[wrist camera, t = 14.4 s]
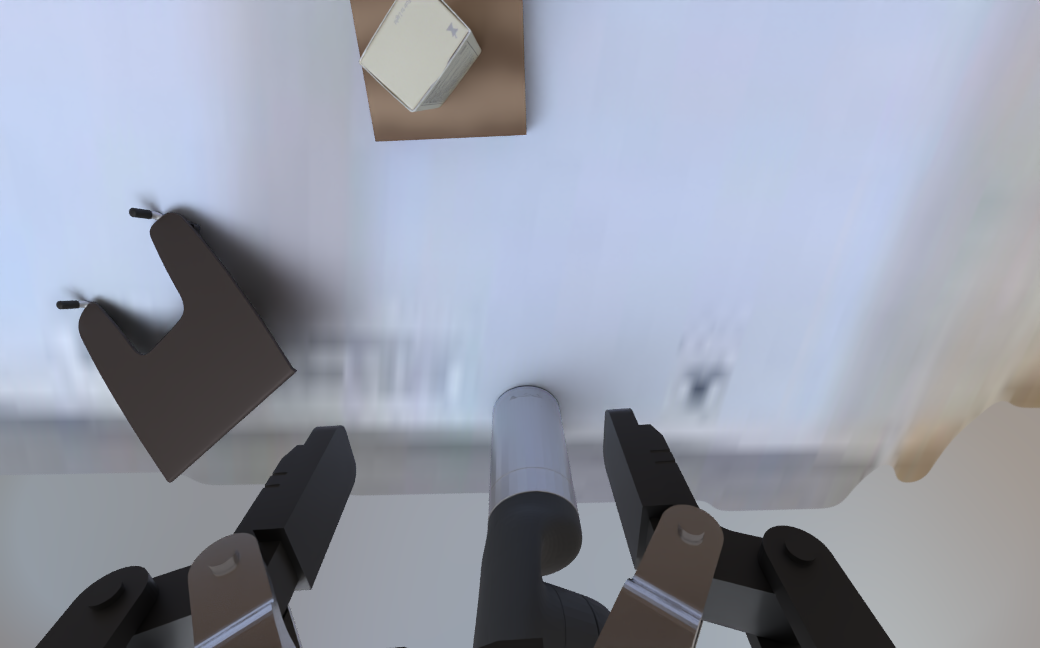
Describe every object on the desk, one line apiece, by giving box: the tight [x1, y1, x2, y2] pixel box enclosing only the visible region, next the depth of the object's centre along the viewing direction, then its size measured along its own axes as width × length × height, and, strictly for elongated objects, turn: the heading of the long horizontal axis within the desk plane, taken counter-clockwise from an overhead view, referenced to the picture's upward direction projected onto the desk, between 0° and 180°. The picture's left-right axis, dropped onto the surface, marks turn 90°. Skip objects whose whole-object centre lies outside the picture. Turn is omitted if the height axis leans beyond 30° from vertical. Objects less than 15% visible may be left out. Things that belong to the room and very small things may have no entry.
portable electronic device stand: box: [56, 208, 297, 482], centre depth 48 cm, size 23×23×9 cm
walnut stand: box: [350, 0, 526, 141], centre depth 38 cm, size 12×14×3 cm
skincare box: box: [359, 0, 481, 112], centre depth 31 cm, size 6×4×12 cm
